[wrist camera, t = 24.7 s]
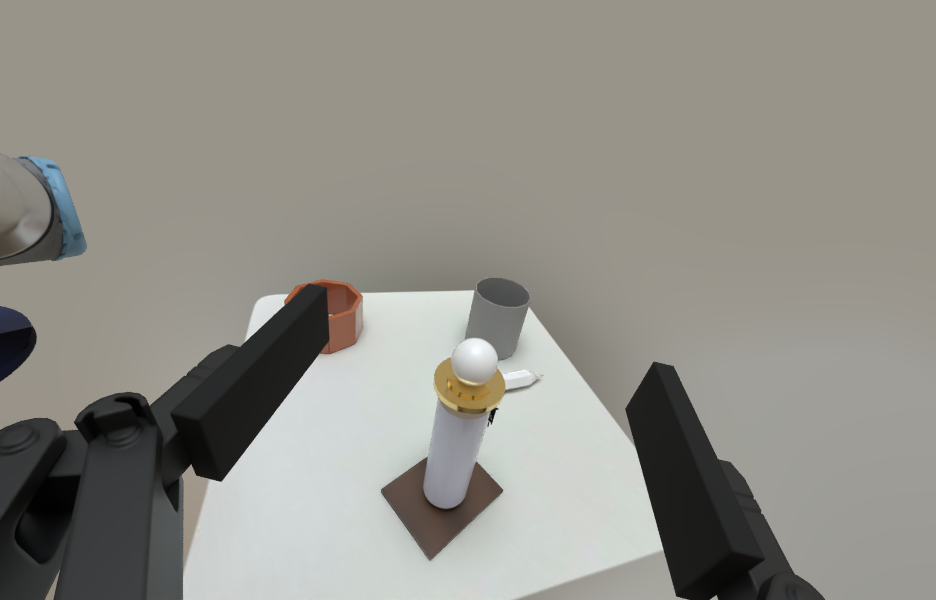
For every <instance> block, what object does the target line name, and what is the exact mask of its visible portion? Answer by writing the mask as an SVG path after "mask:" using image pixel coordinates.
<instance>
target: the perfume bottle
mask: <svg viewBox="0 0 936 600" xmlns="http://www.w3.org/2000/svg"><path fill="white" fill-rule="evenodd" d="M497 367H498V357H497V353H496V351H495V349H494V348H493V346H492V345H491V344H490V343H489V342H487V341H485V340H483V339H480V338H468V339H466V340H464V341H462V342H460V343H459V344H458V345H457V346H456V348H455V349H454V351H453V353H452V356H451V358H448V359H446V360H445V361H443V362H442V363H441V364H440V365H439V366H438V367H437V369H436V371H435V374H434V381H433V385H434V390H435V392H436V394H437V396H438V401H437V407H436V413H435V418H434V424H433V430H432V436H431V441H430V447H429V453H428V459H427V464H426V470H425V476H424V482H423V490H424V493H425V496H426V498H427V499H428V500H429V501H430V503H432V504H433V505H435V506H437V507H439V508H446V509H448V508H453V507H455V506H457V505H458V504H460V503H461V502H462V501H463V499H464V498H465V496H466V493H467V489H468V486H469V483H470V479H471V476H472V473H473V469H474V466H475V463H476V459H477V456H478V453H479V449H480V446H481V443H482V439H483V436H484V432H485V429H486V426H487V422H488V421H489V422H491V425H492V422H493V419H494V415H495V412H496V410H498V408H496V407H497V406H498V405H499V404H500V402H501V401H502V398H503V396H504V393H505V380H504V378H503V375H502V374H501V373H500V371H499V370H498V369H497ZM490 417H491V418H492V420H491V418H490ZM489 422H488V426H489Z"/></svg>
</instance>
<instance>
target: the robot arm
mask: <svg viewBox="0 0 936 600" xmlns="http://www.w3.org/2000/svg"><path fill="white" fill-rule="evenodd" d="M86 249H87V244H86V241H85V238H84V235H83V232H82V228H81V225H80V222H79V219H78V216H77V213H76V210H75V207H74V204H73V202H72V199H71V196H70V193H69V190H68V188H67V185H66V182H65V180H64V177H63V175H62V173H61V170H60V168H59V166H58V164H56V163H55V162H54V161H52V160H49V159H45V158H32V157H30V156H21V157H19V158H9V157H7V156H5V155H3V154H1V153H0V266H3V265H11V264H20V263H28V262H37V261H45V260H52V261H56V260H57V261H58V260H61V259H63V258H66V257H72V256H77V255H81V254H83V253H84V252H85V250H86ZM329 340H330V335H329V317H328V298H327V287H323V286H319V285H314V284H310V283H308V284H307V285H306V286H305V287H304V288H303V289H302V290H301V291H300V292H299V293H297V294H296V295H295V296H294V297H293V298H292V299H291V300H290V301H289V302H288V303H287V304H286V305H285V306H284V307H282V308H281V309H280V310H279V311H278V312H277V313H276V314H275V315H274V316H273V317H272V318H271V319H270V320H268V321H267V322H266V323H265V324H264V325H263V326H262V327H261V328H260V329H259V330H258V331H257V332H256V333H255V334H253V335H252V336H251V337H250V338H249V339H248V340H247V341H246V342H245V343H244V344H243V345H242V346H241V347H237V346H233V345H229V344H228V345H226V346H224V347H222V348H220V349H218V350H216V351H214V352H212V353H210V354H209V355H208V356H207V357H206V358H204V360H202V361H201V362H200V363H199V364H198V366H197V367H194V368H193V369H192V370H191V371H189V372H188V373H187V375H186V376H184V377H182V378H181V379H180V380H179V381H178V382H177V383H176V384H174V385H173V386H172V387H171V388H170V389H169V390H168V391H166V392H165V393H164V394H163V395H162V396H161V397H159V398H158V399H157V400H156V401H155V402H154V403H152V404H151V405H150V406H149V404H148V402H147V400H146V398H145V397H144V396H142V395H141V394H139V393H132V392H125V393H116V394H113V395H110V396H107V397H104V398H101V399H99V400H97V401H96V402H94V403H92V404H90V405H88V406H87V407H86V408H85V409H84V410H83V411H81V412H80V413H79V414H78V416H77V418H76V420H75V421H74V423H75V425H76V426H77V428H78V430H71V431H70V430H69V431H62V430H61V429H60V427H59V426H58V425H57V423H56V422H55V421H53V420H51V419H48V418H33V419H29V420H24V421H20V422H17V423H15V424H12V425H10V426H7V427H5V428H3V429H1V430H0V600H45V598H46V596H47V594H48V592H49V590H50V588H51V586H52V584H53V582H54V580H55V578H56V575H57V573H58V572H59V570H60V573H59V577H58V582H57V586H56V591H55V595H54V600H183V478H182V474H183V473H184V472H185V471H186V469H187V468H188V467H189V466H190V465H191V464H192V467H193V469H194V471H195V474H196V475H197V476H200V477H204V478H208V479H212V480H216V481H220V482H222V480H223V479H224V478H225V477H226V475H227V474H228V473H229V471H230V470H231V469H232V467H233V466H234V465H235V463H236V462H237V461H238V460H239V458H240V457H241V456H242V454H243V453H244V452H245V450H246V449H247V448H248V446H249V445H250V444H251V443H252V441H253V440H254V439H255V437H256V436H257V435H258V433H259V432H260V431H261V429H262V428H263V427H264V426H265V424H266V423H267V422H268V420H269V419H270V418H271V416H272V415H273V414H274V412H275V411H276V410H277V409H278V407H279V406H280V405H281V403H282V402H283V401H284V399H285V398H286V397H287V395H288V394H289V393H290V391H291V390H292V389H293V388H294V386H295V385H296V384H297V382H298V381H299V380H300V378H301V377H302V376H303V374H304V373H305V372H306V371H307V369H308V368H309V367H310V365H311V364H312V363H313V361H314V360H315V359H316V357H317V356H318V355H319V354H320V352H321V351H322V350H323V348H324V347H325V346H326V344H327V343H328V342H329ZM625 410H626V414H627V417H628V421H629V425H630V428H631V432H632V436H633V439H634V443H635V447H636V450H637V454H638V458H639V461H640V465H641V469H642V472H643V476H644V480H645V483H646V487H647V491H648V494H649V498H650V502H651V505H652V509H653V513H654V516H655V520H656V524H657V527H658V531H659V535H660V538H661V542H662V546H663V549H664V553H665V557H666V560H667V564H668V567H669V571H670V575H671V578H672V582H673V585H674V589H675V593H676V596H677V597H680V598H685V599H688V600H710V599H711V598H713V597H714V596H716V595H717V597H718V600H825V599H824V598H823V596H822V595H821V594H820V593H819V592H818V591H817V590H816V589H815V588H814V587H813V586H812V585H811V584H810V583H808V582H807V581H805V580H804V579H802V578H800V577H799V576H797V575H795V574H794V572H793V571H792V569H791V567H790V565H789V563H788V561H787V559H786V557H785V555H784V553H783V552H782V550H781V548H780V546H779V544H778V542H777V540H776V538H775V536H774V534H773V532H772V531H771V528H770V527H769V525H768V523H767V521H766V519H765V517H764V515H763V514H761V509H760V507H759V505H758V504H757V502H756V500H754V499H753V497H754V496H753V494H752V492H751V490H750V488H749V486H748V484H747V482H746V480H745V479H744V477H743V476H742V475H741V474H740V473H739V472H738V471H737V469H736V468H735V467H734V466H733V465H732V464H731V462H728V461H723V460H719V459H717V456H716V454H715V452H714V450H713V448H712V446H711V444H710V442H709V440H708V438H707V435H706V433H705V431H704V429H703V427H702V425H701V423H700V421H699V419H698V417H697V414H696V412H695V410H694V408H693V406H692V404H691V402H690V400H689V398H688V395H687V393H686V391H685V389H684V387H683V385H682V383H681V381H680V379H679V377H678V374H677V372H676V370H675V368H674V366H671V365H666V364H662V363H657V362H653V364H652V365H651V367H650V369H649V370H648V372H647V374H646V375H645V377H644V379H643V380H642V382H641V384H640V385H639V387H638V389H637V390H636V392H635V394H634V395H633V397H632V399H631V400H630V402H629V404H628V405H627V407H626V409H625Z"/></svg>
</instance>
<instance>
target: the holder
mask: <svg viewBox="0 0 936 600" xmlns="http://www.w3.org/2000/svg"><path fill="white" fill-rule="evenodd" d="M307 284H308V283H306V284H302V285H298V286H296V287H295V288H294V290H293V291H292V292H291V293H290V294H289V295H288V297H287V298H286V299H285V300H284V302H285V305H286V304H287V303H288V302H289V301H290V300H291V299H292V298H293V297H294V296H295V295H296V294H297V293H299V292H300V291H301V290H302V289H303V288H304V287H305V286H306V285H307ZM310 284H314V285H319V286H323V287H327V298H328V313H329V314H336V315H333V316H330V317H329V335H330V340H329V342H328V343H327V344H326V346H325V347H324V348H323V350H322V351H321V352H320V353H326V354H329V353H333V352H335V351H338V350H341V349H343V348H346V347H348V346H351V345H353V344H355V343H356V341H357V339H358V337H359V334H360V332H361V330H362V327H363V296H362V295H361V294H360V293H359V292H358V291H357V290H356V289H355V288H354V287H353V286H352V285H351V284H348V283H344V282H337V281H331V280H319V281H314V282H311V283H310Z"/></svg>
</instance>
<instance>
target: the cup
mask: <svg viewBox="0 0 936 600" xmlns="http://www.w3.org/2000/svg"><path fill="white" fill-rule="evenodd" d="M530 300H531V297H530V293H529V292H528V290H527V289H526V288H525V287H524V286H523V285H521V284H519V283H517V282H515V281H513V280H509V279H506V278H502V277H488V278H485V279H481V280H480V281H479V282H478V283H477V284H476V287H475V292H474V297H473V302H472V306H471V311H470V316H469V321H468V326H467V331H466V336H465V340H466V339H468V338H480V339H483V340H485V341H487V342H489V343H490V344H491V345H492V346H493V348H494V349H495V351H496V353H497V357H498V360H503V359H506V358H508V357H510V356H511V355H512V354H513V352H514V351H515V349H516V345H517V342H518V339H519V336H520V333H521V329H522V326H523V323H524V320H525V316H526V313H527V310H528V307H529V303H530Z"/></svg>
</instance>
